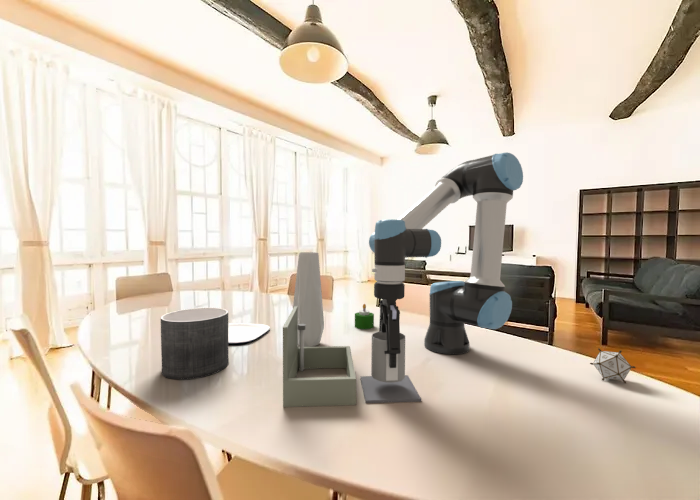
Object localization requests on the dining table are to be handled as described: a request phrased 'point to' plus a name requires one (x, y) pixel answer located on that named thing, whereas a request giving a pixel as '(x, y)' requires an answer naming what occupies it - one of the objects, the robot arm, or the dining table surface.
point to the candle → (364, 319)
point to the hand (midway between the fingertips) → (388, 371)
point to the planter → (194, 342)
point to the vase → (309, 298)
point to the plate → (245, 332)
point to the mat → (389, 390)
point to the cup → (380, 358)
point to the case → (295, 358)
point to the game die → (612, 365)
